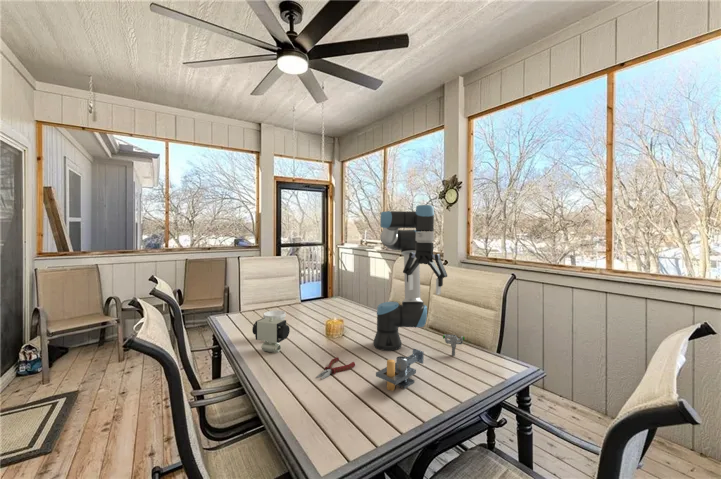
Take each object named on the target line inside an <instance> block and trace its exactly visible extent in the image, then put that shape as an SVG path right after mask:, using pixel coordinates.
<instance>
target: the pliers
mask: <svg viewBox="0 0 721 479" xmlns="http://www.w3.org/2000/svg"><path fill="white" fill-rule="evenodd" d="M339 361H340V357H338V356H336V357H334V358H332V359H331V360H330V361H329V364H328V366H325V367H324V370H323V371H322V372H320V373H319V374H318V375H317V376H315V379H317V378H320V380H323V379H325V378H328V377H330V375H334V376H336V374H338V373H342V372H347V371H349V370H352V369H353V368H355V367H356V363H355V362H354V361H352V362H350V363H349V364H345V365H341V366H336V367H333V366H334V365H335V364H336V363H338V362H339Z"/></svg>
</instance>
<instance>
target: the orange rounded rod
mask: <svg viewBox="0 0 721 479" xmlns="http://www.w3.org/2000/svg"><path fill="white" fill-rule="evenodd" d="M395 363H396V360H394V359H387V361H386V367H387V376H390V377H394V376H395ZM386 390H387V391H391V392H392V391H395V390H396V385H395V384H393V383H390V382H388V381H386Z"/></svg>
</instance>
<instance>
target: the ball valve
mask: <svg viewBox="0 0 721 479" xmlns="http://www.w3.org/2000/svg"><path fill="white" fill-rule="evenodd" d="M290 330H291V329H290V325H288V323H287V319H284V320H280V319H272V317H270V318H264V317H263V318H260V319H258V320H256V321H255V322H254V323H253V326H252V333H253V335H254V337H255V341H262V343H261V350H262V351H264V352H269V353H279V352H280V351H281V348H282V347H281V344H280V343H281V342H283V341H285V340H286V339H287V338H288V337H289V335H290V332H291V331H290Z"/></svg>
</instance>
